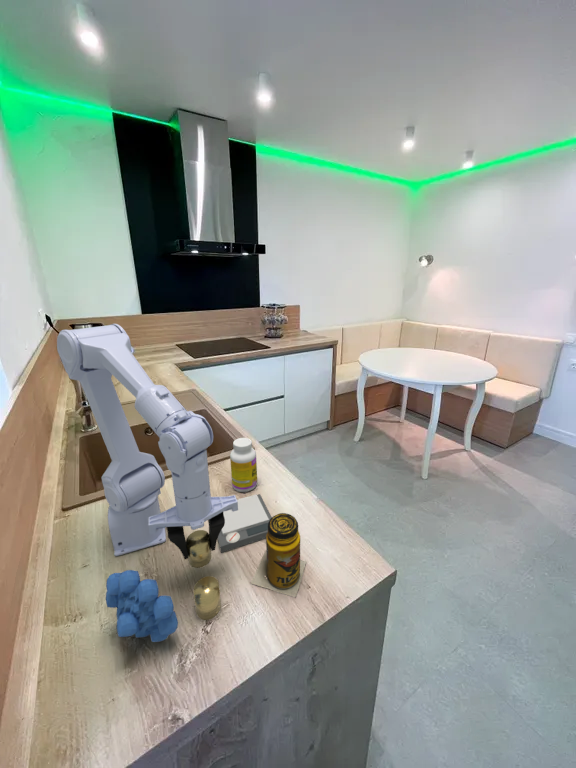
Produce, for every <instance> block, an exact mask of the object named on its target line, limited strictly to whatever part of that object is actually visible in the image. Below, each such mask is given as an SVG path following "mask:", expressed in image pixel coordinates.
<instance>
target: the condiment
mask: <svg viewBox="0 0 576 768" xmlns="http://www.w3.org/2000/svg"><path fill="white" fill-rule="evenodd" d="M271 517H272V518H271V519H270V520H269V523H268V533H267V535H266V538H265V546H266V549H265V550H264V553H263V554H262V556H261V557H262V558H261V559H260V561H259V564H258V567H257V569H256V570H255V573H254V575H253V578H251V581H250V585H255V586H258V587H262V588H264V589H268V590H271V591H273V592H277V593H278V594H283V595H287V596H290V597H293V598H297V595H298V591H299V587H300V585H301V582H302V577H303V575H304V572H305V566H306V564H307V561H306V560H301V535H300V532H299V523H298V520H297V519H296V517H295V516H293V515H291V514H290V513H285V512H281V513H277V514H275V515H273V516H271Z"/></svg>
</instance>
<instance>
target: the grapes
mask: <svg viewBox="0 0 576 768" xmlns="http://www.w3.org/2000/svg"><path fill="white" fill-rule="evenodd" d="M105 585H106V586H105V587H106V593H105V603H106V607H107V608H109V609H110V608H111V609H115V608H116V615H115V616H116V631H117V635H118V638H125V637H126V638H127V637H132V636H133V635H134V637H135V638H146V637H148V636H149V637H150V641H151V642H152V643H159V642H163V641H166V640H167V639H168V637H169V636H170V635H172V634H174V633H175V632H176V631H177V630H178V627H179V625H178V624H179V620H178V617H177V613H176V611H175V610H174V609H175V606H174V605H175V604H174V602H173V599H172V596H171V595H159V593H160V592H159V591H160V589H159V585H158V583H157V580H156V579H151V578H147V579H143V580H141V577H140V573H139V571H138V570H132V569H126V570H124V571H122V572H113V573H111V574H110V575H108V577H107V579H106V584H105Z"/></svg>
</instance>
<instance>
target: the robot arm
mask: <svg viewBox="0 0 576 768" xmlns="http://www.w3.org/2000/svg"><path fill="white" fill-rule="evenodd" d="M56 338H57V339H56V348H57V353H58V355H59V358H60V362H61V363H62V365H63V368H64V370H65V372H66V374H67V376H68V378H69V379H70V380H74V381H77V382H78V381H79V383H80V385H81V387H82V390H83V392H84V394H85V397H86V399H87V402H88V405H89V407H90V409H91V412H92V414H93V417H94V420H95V422H96V424H97V427H98V429H99V431H100V434H101V436H102V439H103V442H104V444H105V446H106V449H107V453H109V457H110V459H111V462H110V464H109V465H108V466H107V468H106V470H105V471H104V473H103V474H102V476H101V483H102V486H103V489H104V490H103V492H104V497H105V499H106V501H107V503H108V505H109V506H108V510H107V522H108V524H107V525H108V529H109V533H110V538H111V542H112V547H113V550H114V552H113V553H114V554H113V555H114V557H118V556H121V555H124V554H129V553H132V552H135V551H138V550H141V549H145V548H148V547H153V546H156V545H158V544H159V545H160V544H163V543H164V542H166V541H167V538H168V540H169V541H170V542H171V543H172V544H174V545H175V546H176V547H177V548H178V549H179V550H180V553H181V554H182V556H183V559H184V560H189V557H188V551H187V544H186V540H187V538H186V535H185V531H184V527H190V529H191V530H193V531H194V530H195V531H196V530H199V529H201V528H204V526H205V522H208V533H209V536H210V545H211V552H214V551H216V546H217V542H218V536H219V533H220V531H221V530H222V528H223V527H224V524H225V518H224V514H223V512H224V511H228V510H231V509H232V511H233V512H234V511H237V510H238V501H237V499H238V498H237V497H236V495H235V494H234V495H229V496H228V495H227V496H212V494H211V484H210V483H211V482H210V473H209V463H208V453H207V449H208V447H210V446H211V445H212V444H213V442H214V432H213V429H212V426H211V425H210V423H209V422H208V420H207V419H206V418H205V417H204V416H203V415H201V414H197V413H194V412H193V411H192V410H187V409H186V408H185V407H184V406H183V405H182V403H181V402H180V401H179V400H178V398H176V397H175V396H174V394H173V393H172V392H171V391H170V390H169V389H168V388H167V386H165V385H163V384H155V383H154V381H153V380H152V379H151V377H150V376H149V375H148V373H147V372H146V371H145V369H144V368H143V367H142V365H141V364H140V362H139V361H138V360H137V358H136V357H135V355H134V354H133V352H132V344H131V340H130V336H129V334H128V333H127V332H126V329H124V328H123V327H122V326H121V325H120V324H118V323H112V324H108V325H102V326H101V325H100V326H93V327H84V328H75V329H62V330H60V331H59V333H58V335H57V336H56ZM112 377H114V378H115V379H116V380H117V381H118V382H119V383H120V384H121V385H122V386H123V387H124V388H125V389H127V391H128V392H129V393H130V394H131V395H132V396H134V397H135V402H134V408H135V411H136V412H138V414H139V415H140V416H141V418H143V420H144V421H145V422H146V423H147V425H148V426H149V428H151V429H152V431H153V432H154V433H155V434H156V435H157V437H158V438H159V441H157V443H158V447H159V450H160V452H161V455H163V458H164V460H165V464H166V466H165V467H167V470H169V472H171V473H170V474H171V480H172V488H173V495H174V500H175V501H174V502H175V505H174V506H172V507H170V508H168V509H166V510H164V511H162V512H161V507H160V501H159V495H161V493H162V492H161V489H162V488H163V487H164V486H165V482H166V481H165V480H166V477H165V473H164V471H163V469H162V467H161V466H160V465H159V464H158V461H157V460H156V458H155V456H154V455H153V454H151V453H146V452H142V451H140V450H139V447H138V445H137V441H136V439H135V437H134V434H133V432H132V429H131V426H130V424H129V420H128V418H127V416H126V414H125V410H124V408H123V406H122V403H121V400H120V398H119V395H118V392H117V390H116V388H115V384H114V383H113V379H112ZM166 529H167V534H166Z"/></svg>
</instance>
